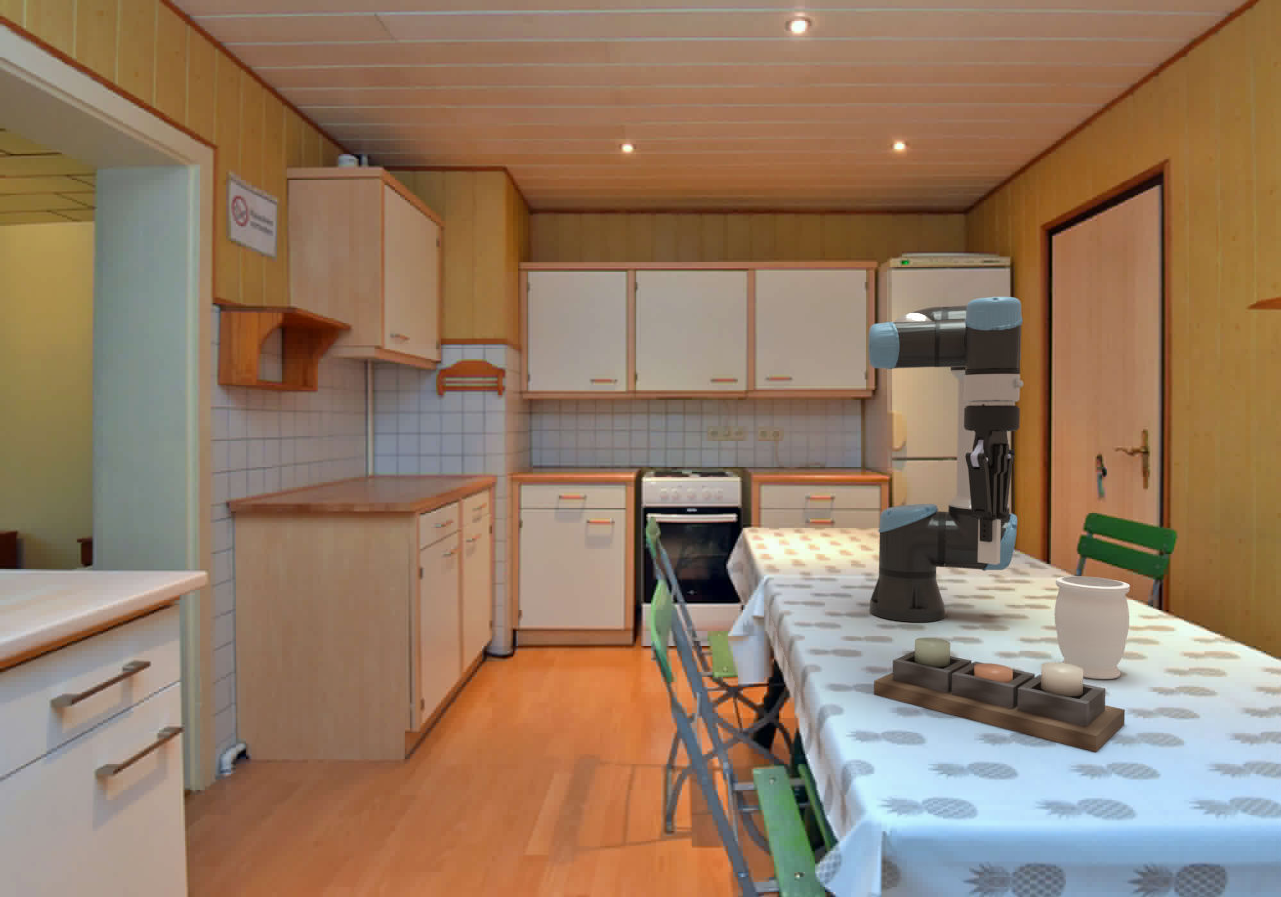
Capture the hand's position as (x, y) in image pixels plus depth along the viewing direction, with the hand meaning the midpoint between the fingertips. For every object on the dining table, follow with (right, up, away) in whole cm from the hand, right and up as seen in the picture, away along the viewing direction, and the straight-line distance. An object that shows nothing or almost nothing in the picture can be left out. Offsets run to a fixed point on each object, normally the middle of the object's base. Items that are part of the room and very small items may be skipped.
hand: (988, 562), depth 119 cm
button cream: (+5, -16, -11) cm, 20 cm away
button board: (-2, -20, -5) cm, 21 cm away
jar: (+22, -20, +12) cm, 32 cm away
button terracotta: (-2, -17, -5) cm, 18 cm away
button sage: (-8, -15, +1) cm, 17 cm away
